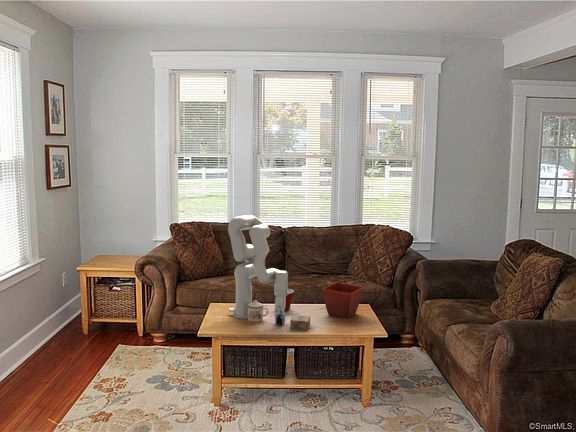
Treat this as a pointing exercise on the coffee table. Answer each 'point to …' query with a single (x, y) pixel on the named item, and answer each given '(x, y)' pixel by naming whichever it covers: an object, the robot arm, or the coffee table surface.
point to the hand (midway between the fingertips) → (280, 322)
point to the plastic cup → (288, 299)
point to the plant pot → (342, 299)
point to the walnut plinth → (300, 322)
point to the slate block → (282, 318)
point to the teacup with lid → (256, 311)
